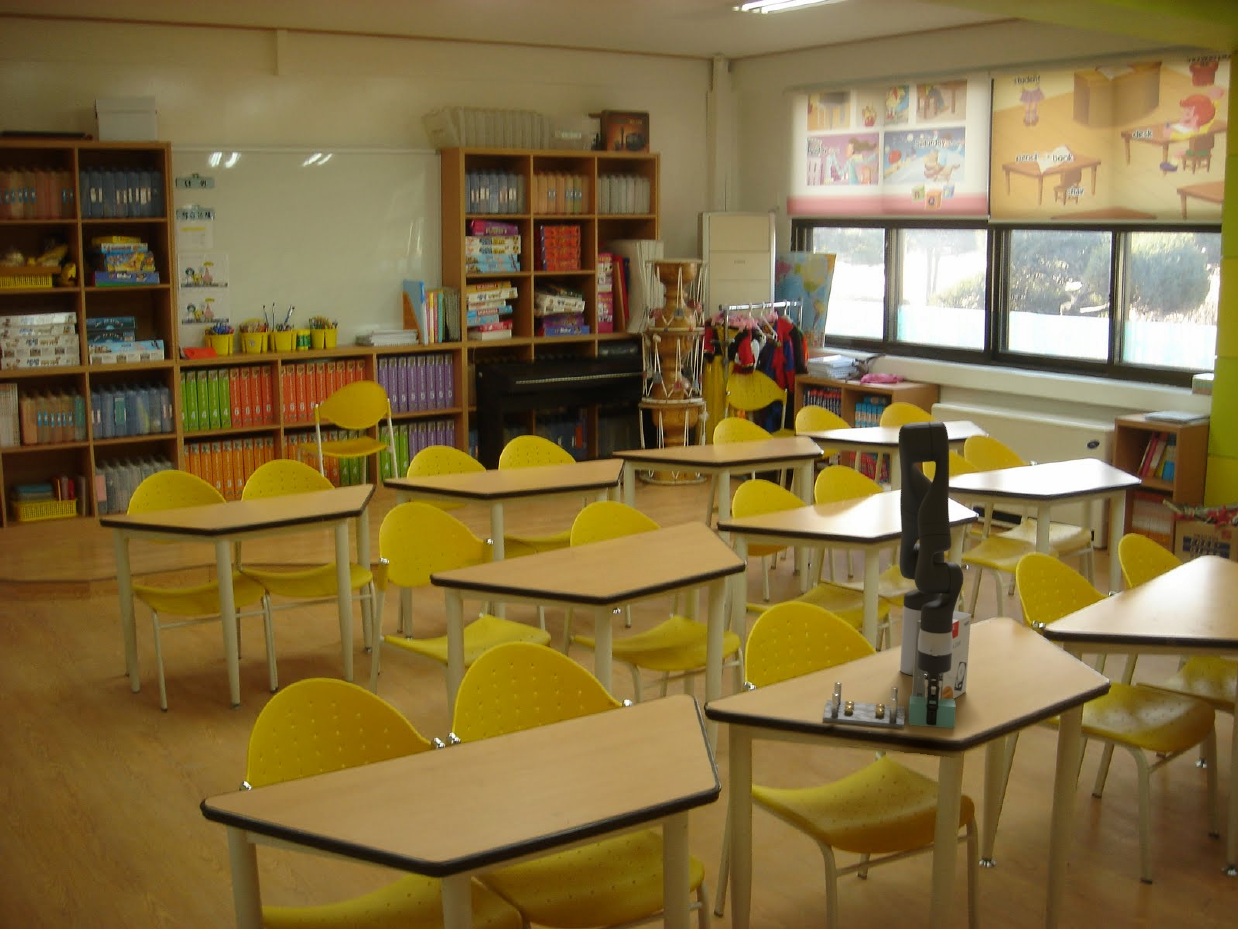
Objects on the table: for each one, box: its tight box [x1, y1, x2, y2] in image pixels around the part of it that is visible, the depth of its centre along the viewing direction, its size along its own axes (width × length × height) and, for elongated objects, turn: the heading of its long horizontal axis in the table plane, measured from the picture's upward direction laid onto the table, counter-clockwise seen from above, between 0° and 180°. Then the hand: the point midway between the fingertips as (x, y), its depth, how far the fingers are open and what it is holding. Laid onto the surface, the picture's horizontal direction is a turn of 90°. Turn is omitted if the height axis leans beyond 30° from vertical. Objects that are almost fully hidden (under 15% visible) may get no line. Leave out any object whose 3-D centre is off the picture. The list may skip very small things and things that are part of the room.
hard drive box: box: [911, 610, 972, 700], centre depth 313 cm, size 16×8×20 cm, turn 143°
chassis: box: [822, 681, 906, 730], centre depth 301 cm, size 12×18×6 cm, turn 77°
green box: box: [908, 695, 956, 729], centre depth 298 cm, size 5×10×5 cm, turn 79°
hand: (931, 720), depth 298 cm, fingers closed on green box, 5 cm apart
